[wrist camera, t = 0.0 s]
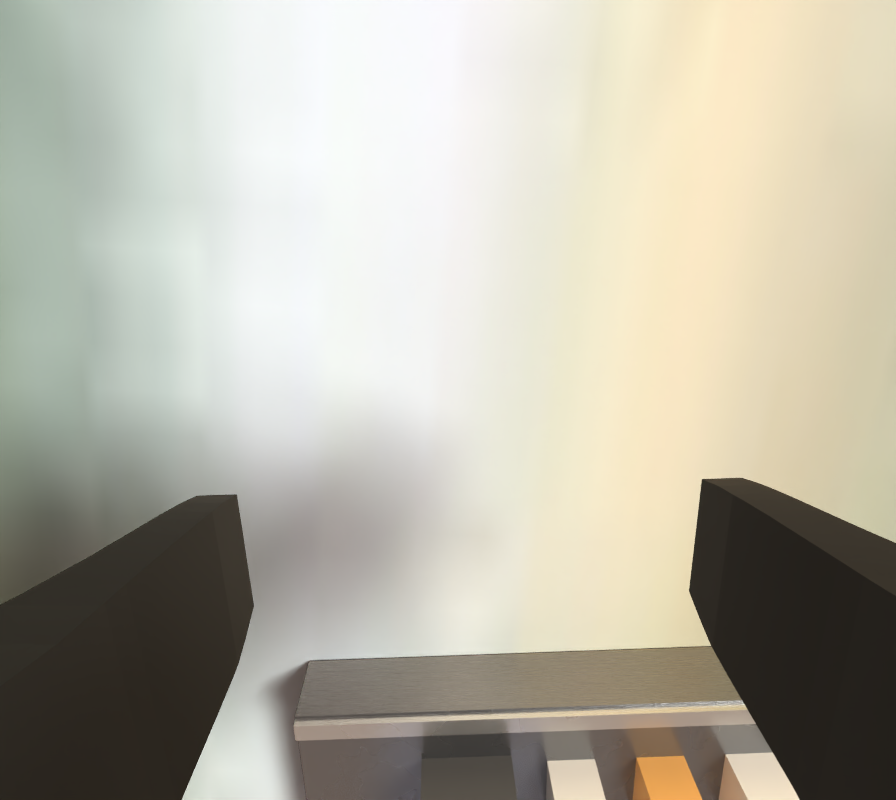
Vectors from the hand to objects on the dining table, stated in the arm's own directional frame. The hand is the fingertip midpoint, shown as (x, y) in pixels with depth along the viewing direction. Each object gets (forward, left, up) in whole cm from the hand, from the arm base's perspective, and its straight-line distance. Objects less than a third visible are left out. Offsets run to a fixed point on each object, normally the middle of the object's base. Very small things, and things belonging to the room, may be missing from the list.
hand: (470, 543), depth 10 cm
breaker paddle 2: (-14, -10, -8) cm, 19 cm away
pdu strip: (-14, -7, -10) cm, 19 cm away
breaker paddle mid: (-14, -7, -8) cm, 18 cm away
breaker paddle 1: (-14, -4, -8) cm, 17 cm away
